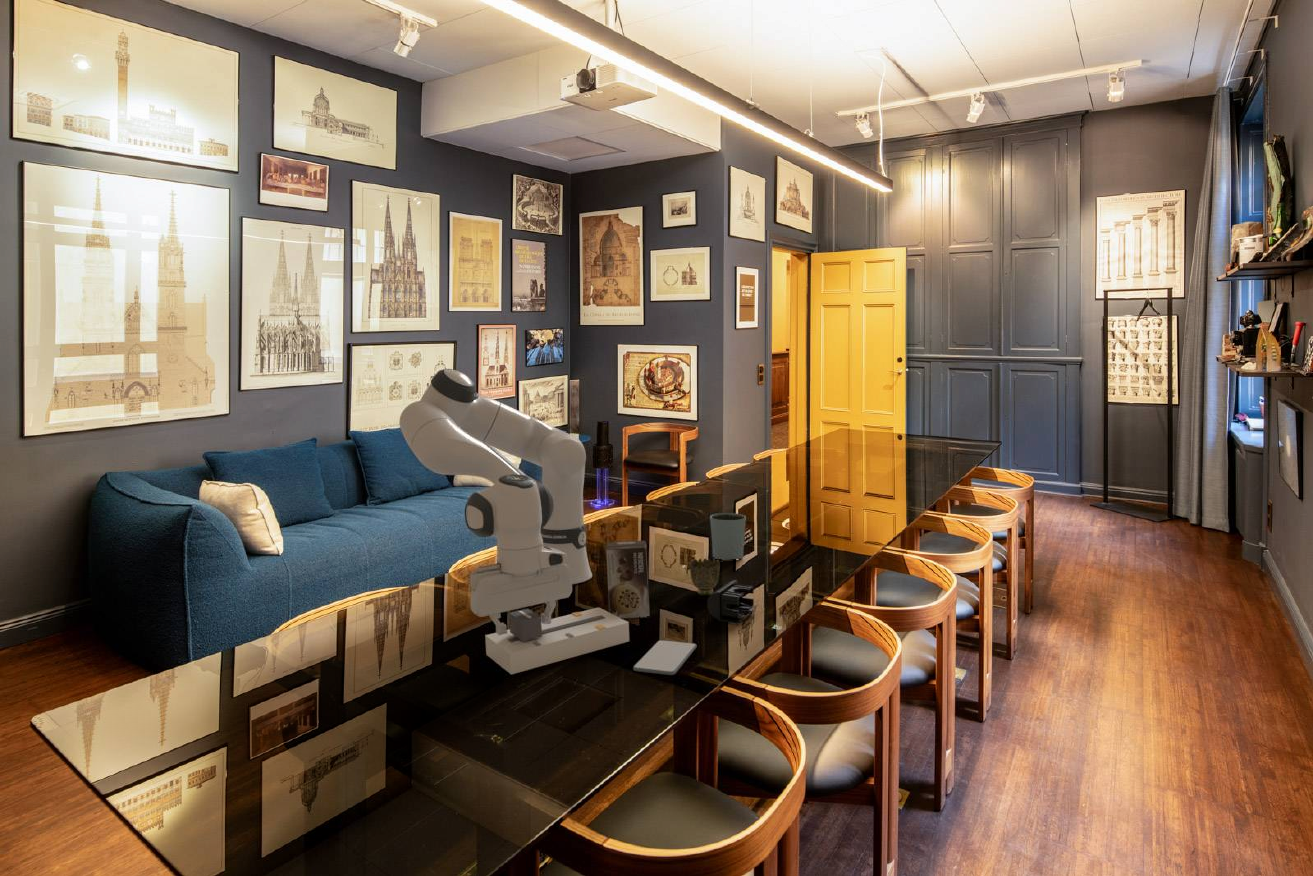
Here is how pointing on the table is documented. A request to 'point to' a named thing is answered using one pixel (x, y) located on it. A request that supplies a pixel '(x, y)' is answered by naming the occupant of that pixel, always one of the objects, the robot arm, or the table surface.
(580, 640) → the fader console
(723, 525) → the blue plant pot
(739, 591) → the end cap
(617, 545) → the coffee box
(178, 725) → the table surface
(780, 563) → the table surface
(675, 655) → the smartphone
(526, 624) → the fader knob
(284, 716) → the table surface
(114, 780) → the table surface
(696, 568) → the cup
